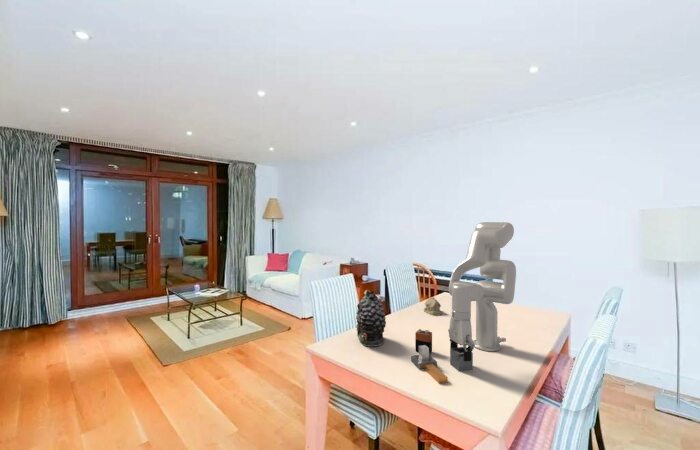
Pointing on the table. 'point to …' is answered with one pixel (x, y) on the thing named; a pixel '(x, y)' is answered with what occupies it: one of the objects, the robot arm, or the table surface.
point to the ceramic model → (432, 307)
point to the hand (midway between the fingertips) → (460, 356)
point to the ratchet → (428, 364)
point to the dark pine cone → (370, 320)
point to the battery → (423, 339)
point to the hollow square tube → (460, 359)
